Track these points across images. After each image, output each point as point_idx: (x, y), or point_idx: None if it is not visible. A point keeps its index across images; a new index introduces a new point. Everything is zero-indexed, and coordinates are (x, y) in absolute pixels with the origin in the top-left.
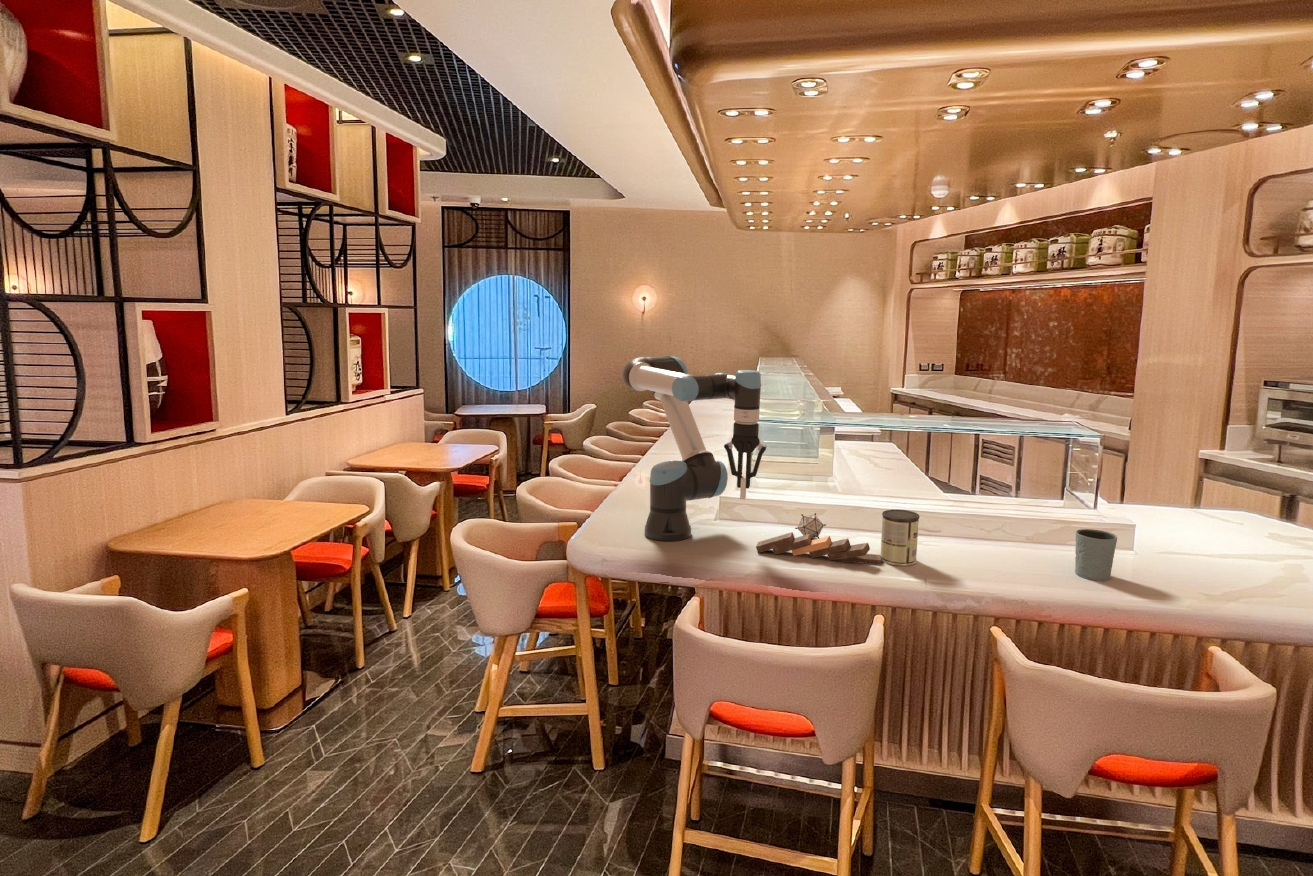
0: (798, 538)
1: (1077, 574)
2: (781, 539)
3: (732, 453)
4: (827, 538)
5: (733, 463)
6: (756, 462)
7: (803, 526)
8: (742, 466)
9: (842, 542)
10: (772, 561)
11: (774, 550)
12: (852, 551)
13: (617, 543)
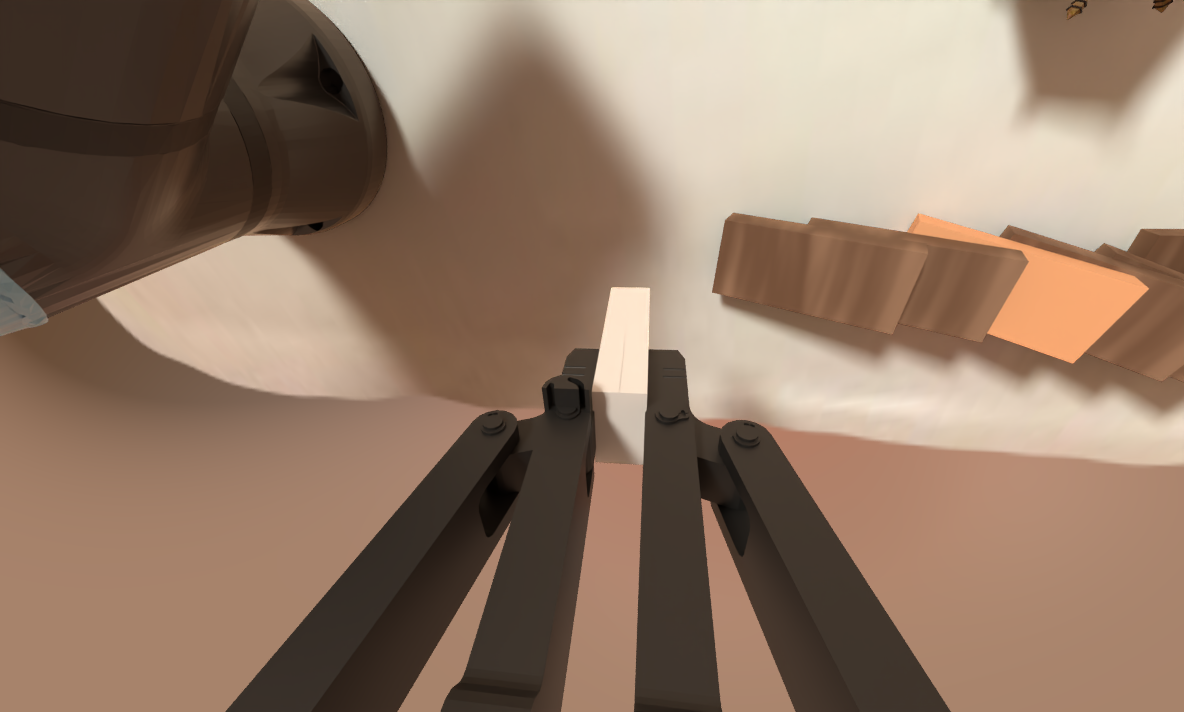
0: (942, 277)
1: None
2: (840, 321)
3: (339, 692)
4: (1107, 326)
5: (463, 592)
6: (794, 672)
7: (1079, 10)
8: (576, 489)
9: (1173, 349)
10: (773, 356)
11: None
12: (1173, 377)
13: (206, 287)
